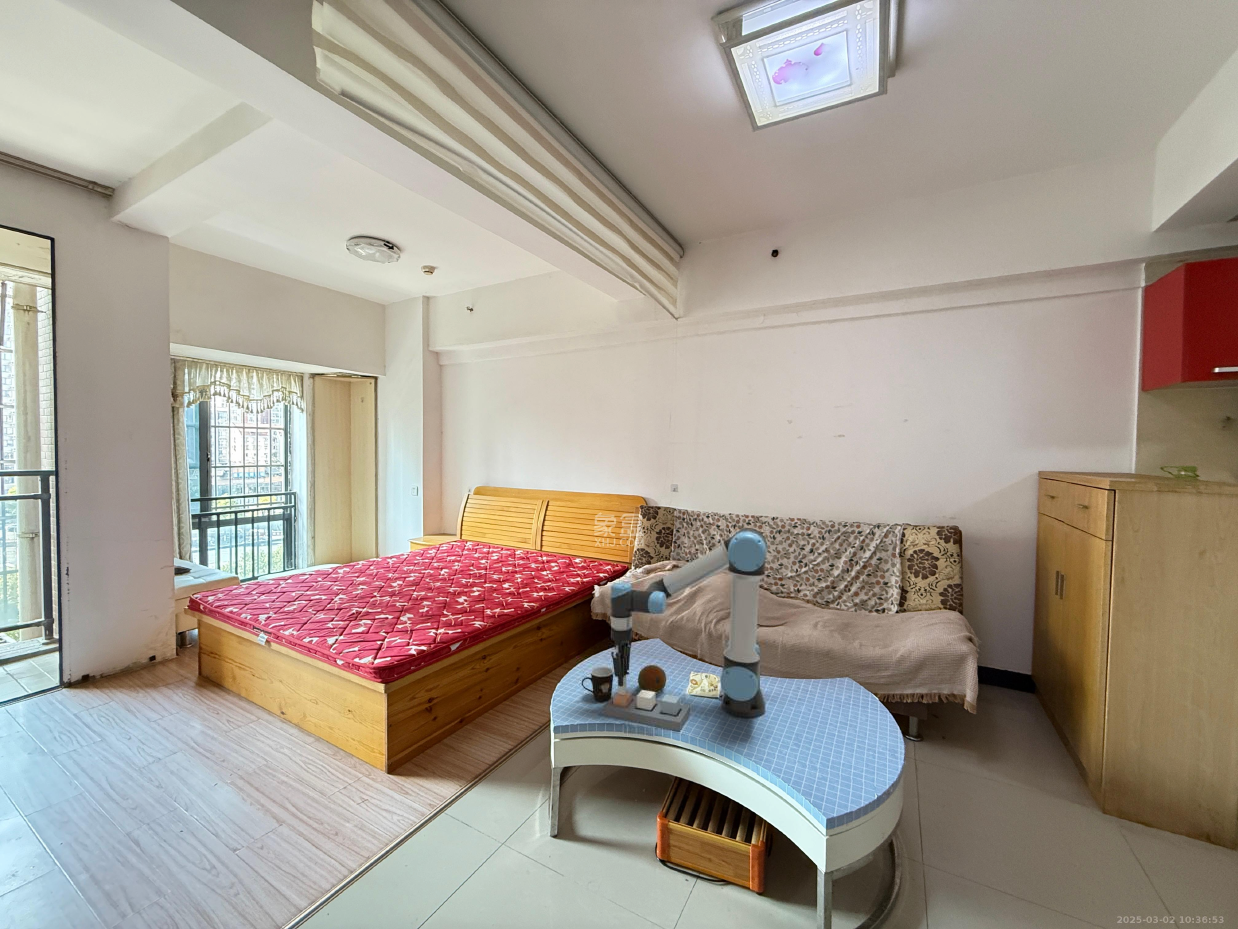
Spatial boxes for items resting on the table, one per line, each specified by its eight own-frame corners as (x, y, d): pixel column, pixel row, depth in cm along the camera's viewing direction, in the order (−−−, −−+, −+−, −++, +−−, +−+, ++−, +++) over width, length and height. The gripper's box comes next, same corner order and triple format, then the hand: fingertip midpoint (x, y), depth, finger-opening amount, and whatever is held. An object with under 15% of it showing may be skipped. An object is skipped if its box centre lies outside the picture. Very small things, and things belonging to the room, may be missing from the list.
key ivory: (655, 703, 176) (655, 692, 176) (650, 710, 171) (650, 698, 171) (642, 701, 178) (642, 689, 178) (636, 707, 174) (636, 695, 174)
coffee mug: (615, 693, 192) (614, 667, 192) (612, 704, 183) (612, 676, 183) (585, 692, 193) (584, 666, 193) (581, 703, 184) (580, 675, 184)
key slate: (680, 708, 172) (680, 696, 172) (675, 715, 168) (675, 703, 168) (666, 705, 174) (666, 694, 174) (661, 712, 170) (661, 700, 170)
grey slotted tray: (690, 714, 175) (690, 706, 175) (680, 731, 164) (680, 722, 164) (616, 700, 186) (616, 692, 186) (602, 715, 175) (602, 706, 175)
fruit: (644, 701, 185) (644, 674, 185) (630, 687, 197) (629, 661, 197) (672, 694, 190) (672, 668, 190) (656, 681, 201) (656, 656, 201)
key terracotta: (631, 704, 180) (631, 692, 180) (626, 710, 175) (626, 698, 175) (619, 701, 182) (618, 690, 182) (613, 707, 177) (613, 696, 177)
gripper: (619, 620, 186) (619, 684, 186) (603, 631, 174) (604, 699, 174) (638, 623, 183) (638, 688, 183) (623, 634, 171) (624, 703, 171)
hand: (622, 693), depth 178 cm, fingers closed
